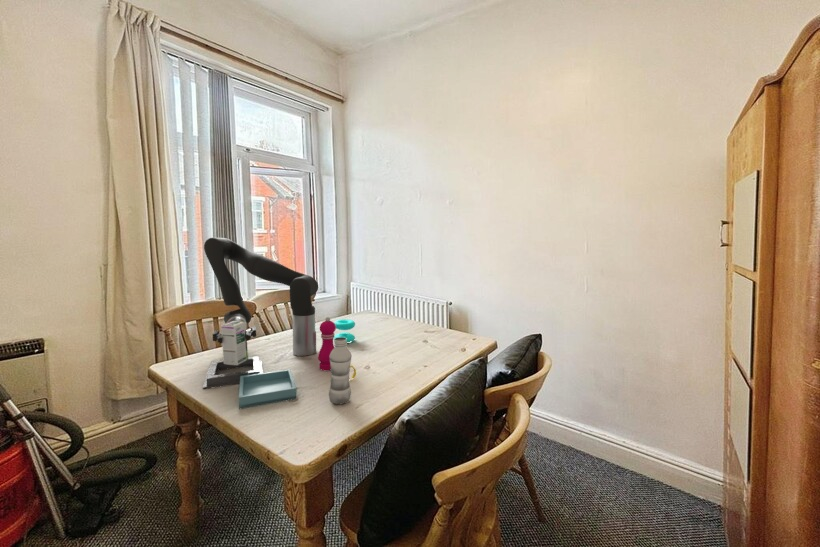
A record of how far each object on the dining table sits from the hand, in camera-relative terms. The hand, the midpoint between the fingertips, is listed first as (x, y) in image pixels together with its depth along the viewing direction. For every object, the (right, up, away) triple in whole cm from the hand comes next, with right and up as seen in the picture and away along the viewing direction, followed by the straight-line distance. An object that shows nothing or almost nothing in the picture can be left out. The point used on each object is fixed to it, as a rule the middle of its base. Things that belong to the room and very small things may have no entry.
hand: (234, 339), depth 117 cm
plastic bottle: (+40, -17, -14) cm, 46 cm away
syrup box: (-1, -9, +3) cm, 9 cm away
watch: (+40, -15, +1) cm, 42 cm away
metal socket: (-1, -13, +3) cm, 14 cm away
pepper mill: (+30, -13, +12) cm, 35 cm away
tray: (+16, -15, -9) cm, 24 cm away
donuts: (+30, -10, +44) cm, 54 cm away
